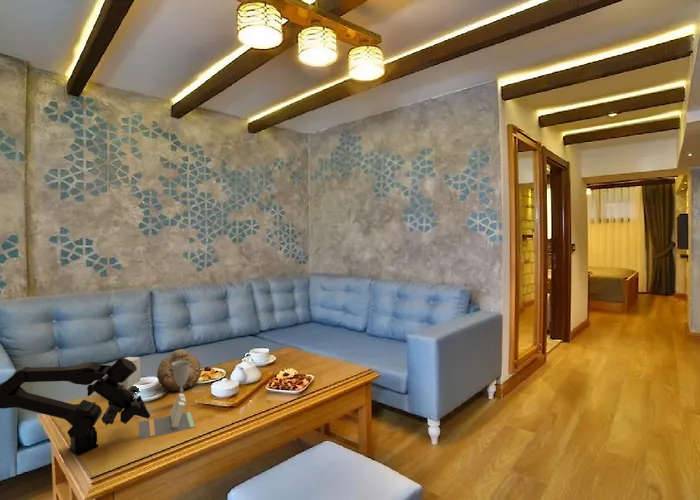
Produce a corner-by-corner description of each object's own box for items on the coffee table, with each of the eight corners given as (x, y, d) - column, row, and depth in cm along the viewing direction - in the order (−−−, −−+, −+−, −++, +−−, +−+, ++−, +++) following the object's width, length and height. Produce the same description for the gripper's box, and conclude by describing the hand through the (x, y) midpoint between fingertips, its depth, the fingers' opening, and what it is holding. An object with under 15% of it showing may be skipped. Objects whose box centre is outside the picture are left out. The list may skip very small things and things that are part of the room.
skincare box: (127, 399, 170) (126, 363, 170) (114, 397, 172) (113, 362, 171) (141, 391, 179) (140, 356, 178) (128, 389, 180) (127, 355, 179)
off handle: (172, 426, 142) (179, 404, 143) (171, 423, 145) (178, 401, 146) (177, 427, 143) (184, 405, 144) (177, 423, 146) (183, 402, 147)
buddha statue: (165, 398, 172) (163, 358, 171) (152, 387, 184) (151, 350, 183) (210, 385, 185) (209, 348, 184) (196, 375, 198) (194, 341, 197)
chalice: (168, 407, 163) (167, 364, 162) (182, 401, 169) (181, 359, 168) (180, 411, 159) (180, 367, 158) (194, 404, 165) (193, 362, 164)
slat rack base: (139, 443, 136) (139, 415, 135) (139, 425, 148) (138, 399, 147) (195, 430, 144) (195, 404, 144) (190, 414, 157) (190, 390, 156)
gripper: (94, 400, 140) (130, 424, 146) (90, 423, 123) (130, 450, 129) (120, 375, 143) (154, 399, 149) (119, 394, 127) (157, 421, 133)
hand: (149, 417), depth 140 cm, fingers closed
